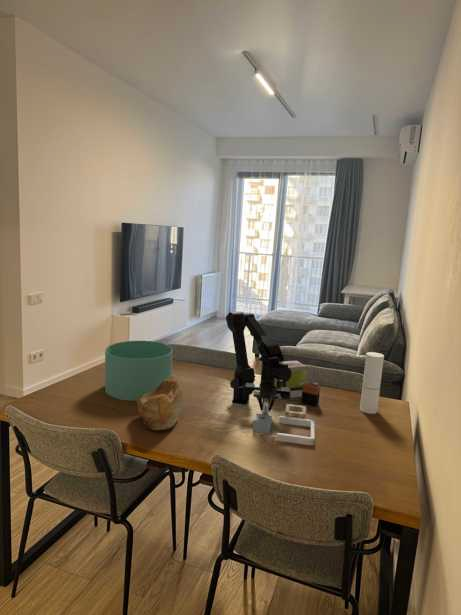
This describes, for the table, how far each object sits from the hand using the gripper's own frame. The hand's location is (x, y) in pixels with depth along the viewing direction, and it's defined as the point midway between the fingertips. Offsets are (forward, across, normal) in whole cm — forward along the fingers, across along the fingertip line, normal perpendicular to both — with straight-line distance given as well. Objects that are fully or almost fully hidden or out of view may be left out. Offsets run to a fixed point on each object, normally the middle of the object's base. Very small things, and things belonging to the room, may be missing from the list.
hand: (265, 410), depth 171 cm
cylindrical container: (+2, +43, +19) cm, 47 cm away
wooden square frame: (+2, +12, +1) cm, 12 cm away
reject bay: (+2, +12, -12) cm, 17 cm away
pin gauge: (+2, 0, 0) cm, 2 cm away
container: (+2, -59, +12) cm, 60 cm away
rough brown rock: (+2, -40, -16) cm, 43 cm away
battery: (+2, +18, +18) cm, 26 cm away
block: (+2, 0, -12) cm, 12 cm away
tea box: (+2, +7, +26) cm, 27 cm away
